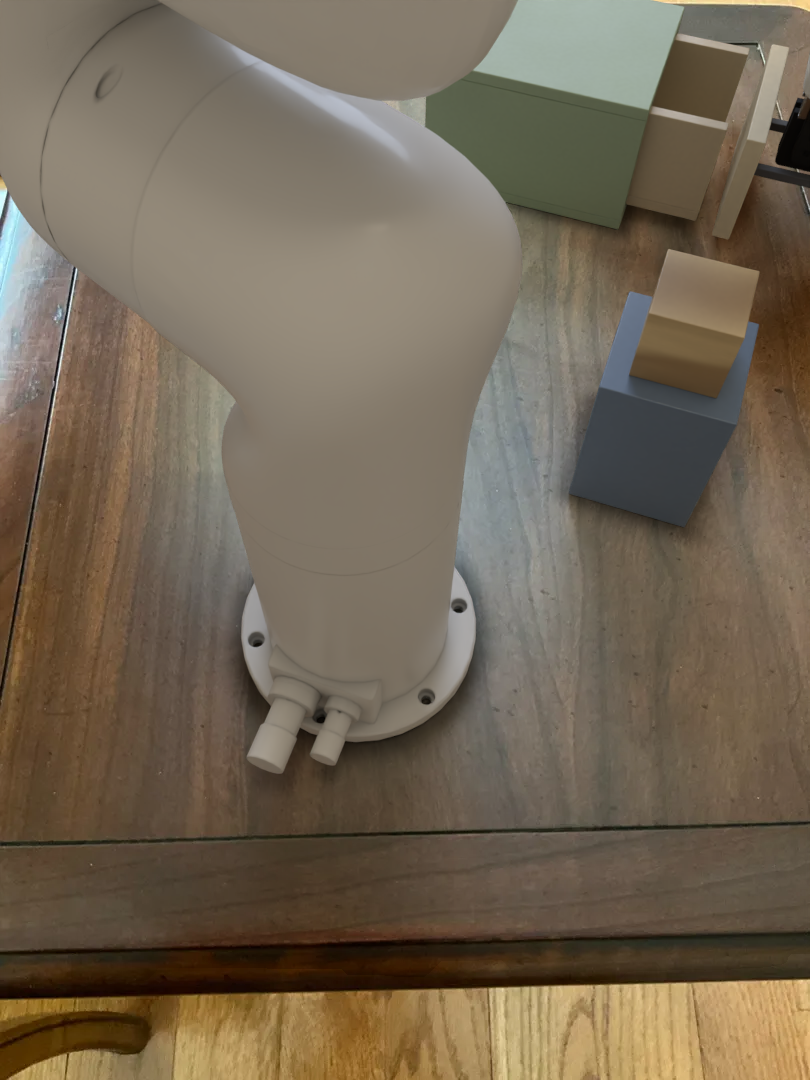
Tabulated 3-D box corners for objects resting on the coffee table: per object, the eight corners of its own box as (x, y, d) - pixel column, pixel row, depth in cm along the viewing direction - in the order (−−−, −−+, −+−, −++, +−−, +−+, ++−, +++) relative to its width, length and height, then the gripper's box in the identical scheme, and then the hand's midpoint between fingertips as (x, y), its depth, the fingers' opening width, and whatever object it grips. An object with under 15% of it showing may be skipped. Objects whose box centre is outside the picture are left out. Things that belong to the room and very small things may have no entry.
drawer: (833, 164, 71) (879, 65, 64) (814, 261, 66) (863, 165, 59) (575, 105, 74) (594, 6, 67) (539, 194, 69) (555, 96, 62)
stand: (684, 527, 56) (737, 425, 48) (567, 493, 57) (598, 387, 49) (706, 435, 59) (759, 323, 51) (595, 405, 61) (629, 290, 52)
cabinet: (652, 128, 74) (685, 6, 65) (618, 230, 68) (649, 110, 60) (470, 87, 76) (479, -36, 68) (423, 182, 71) (426, 60, 62)
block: (716, 399, 48) (744, 338, 44) (628, 375, 49) (648, 313, 45) (732, 334, 50) (760, 271, 46) (647, 312, 51) (668, 248, 47)
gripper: (997, -44, 46) (842, 249, 62) (1006, -190, 53) (865, 106, 69) (836, -73, 47) (725, 221, 63) (867, -213, 54) (760, 84, 70)
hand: (798, 161), depth 66 cm, fingers closed
